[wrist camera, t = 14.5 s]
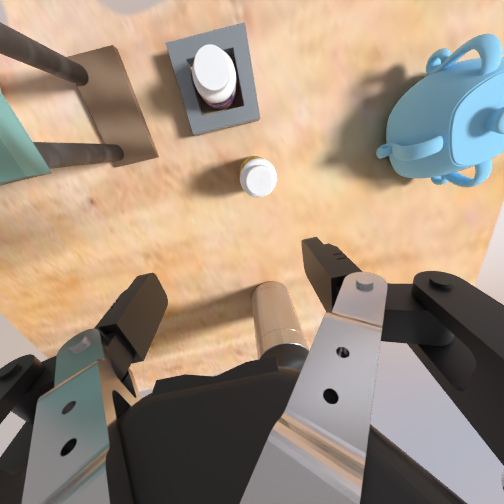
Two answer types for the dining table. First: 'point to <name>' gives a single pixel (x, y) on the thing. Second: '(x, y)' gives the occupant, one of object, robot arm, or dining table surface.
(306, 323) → the dining table surface
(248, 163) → the supplement bottle
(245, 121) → the socket
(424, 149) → the decorative pot
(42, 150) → the green-topped post stand
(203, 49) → the pill bottle
